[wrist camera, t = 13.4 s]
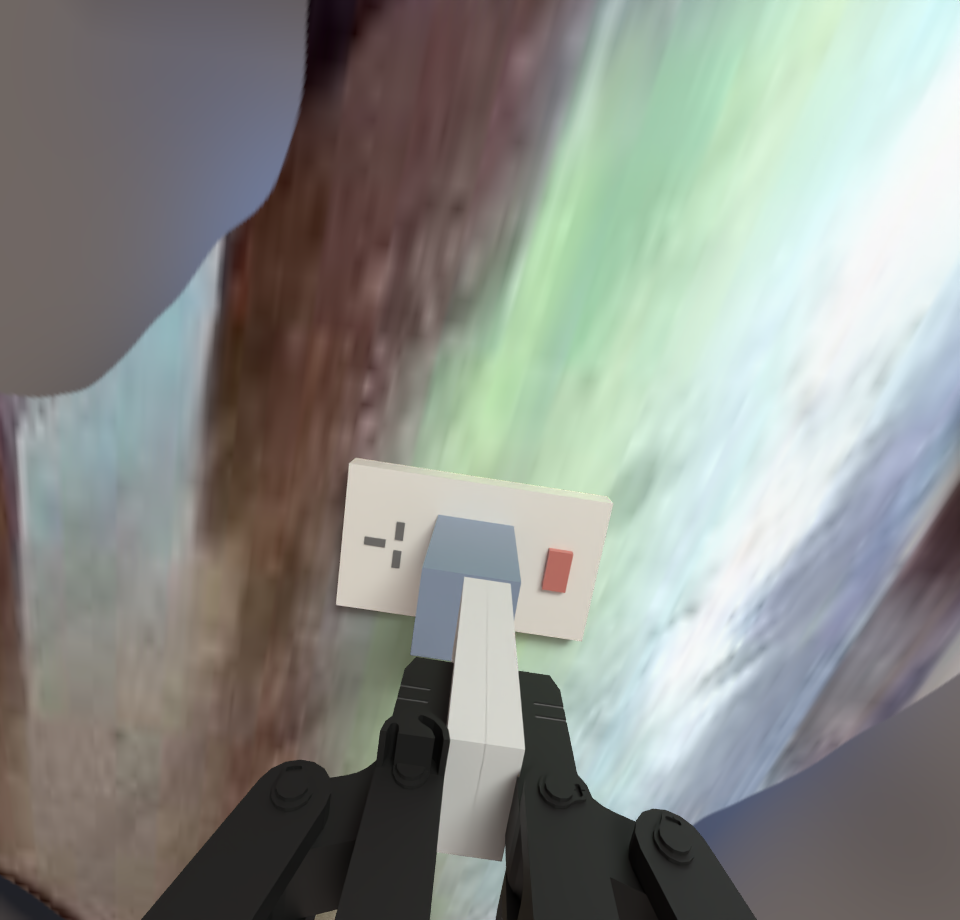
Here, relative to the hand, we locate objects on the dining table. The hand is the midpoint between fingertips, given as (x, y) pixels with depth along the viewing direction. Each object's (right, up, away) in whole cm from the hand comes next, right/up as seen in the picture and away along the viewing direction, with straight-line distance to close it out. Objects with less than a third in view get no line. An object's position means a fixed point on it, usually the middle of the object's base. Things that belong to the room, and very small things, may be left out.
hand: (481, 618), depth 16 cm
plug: (-1, -3, +28) cm, 28 cm away
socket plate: (-1, -3, +28) cm, 28 cm away
